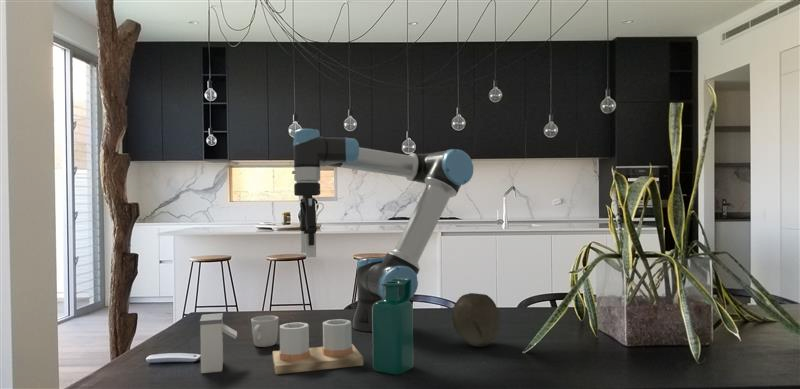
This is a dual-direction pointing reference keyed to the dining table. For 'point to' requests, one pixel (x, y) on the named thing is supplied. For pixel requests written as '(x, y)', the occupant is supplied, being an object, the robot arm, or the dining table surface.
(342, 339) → the sleeve seated
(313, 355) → the pin board
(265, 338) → the cup
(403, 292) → the green square bottle
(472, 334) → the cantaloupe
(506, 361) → the dining table surface
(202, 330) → the box
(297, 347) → the sleeve
